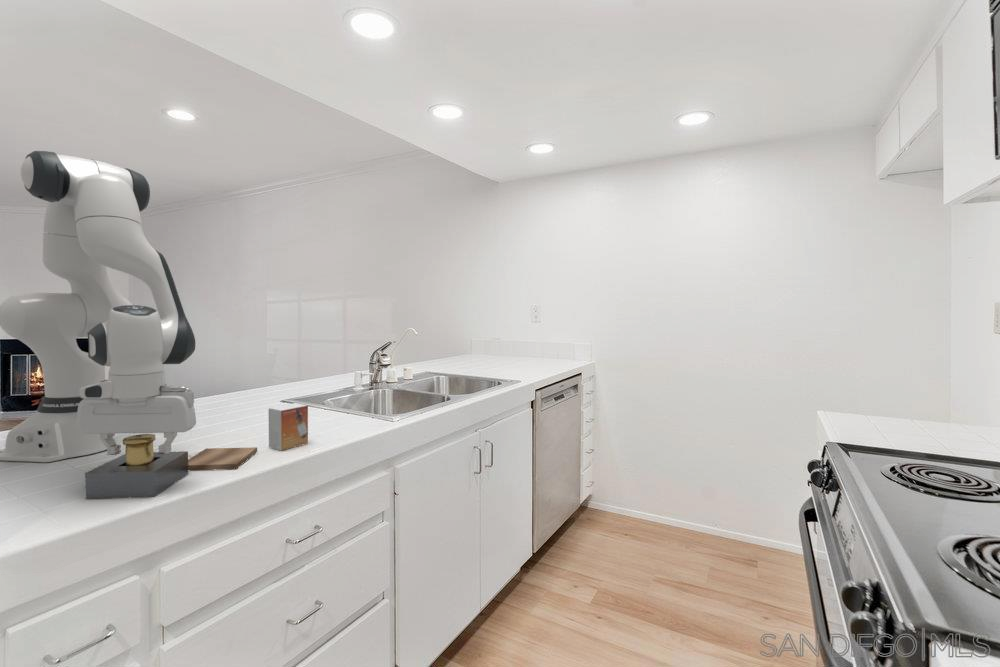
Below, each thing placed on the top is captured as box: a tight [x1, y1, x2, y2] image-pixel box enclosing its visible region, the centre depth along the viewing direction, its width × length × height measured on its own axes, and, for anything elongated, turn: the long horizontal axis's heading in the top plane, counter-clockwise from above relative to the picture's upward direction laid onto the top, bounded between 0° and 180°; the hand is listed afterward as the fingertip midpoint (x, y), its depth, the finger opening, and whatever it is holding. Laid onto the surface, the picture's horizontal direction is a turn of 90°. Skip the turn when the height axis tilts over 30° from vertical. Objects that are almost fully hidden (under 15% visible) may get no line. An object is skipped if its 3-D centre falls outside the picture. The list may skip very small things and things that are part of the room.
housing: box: [84, 450, 190, 500], centre depth 93 cm, size 12×12×5 cm
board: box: [188, 446, 258, 471], centre depth 108 cm, size 12×12×1 cm
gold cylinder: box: [122, 433, 156, 466], centre depth 93 cm, size 5×5×10 cm
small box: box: [268, 402, 309, 451], centre depth 121 cm, size 8×6×10 cm
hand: (139, 453), depth 93 cm, fingers open, 8 cm apart
